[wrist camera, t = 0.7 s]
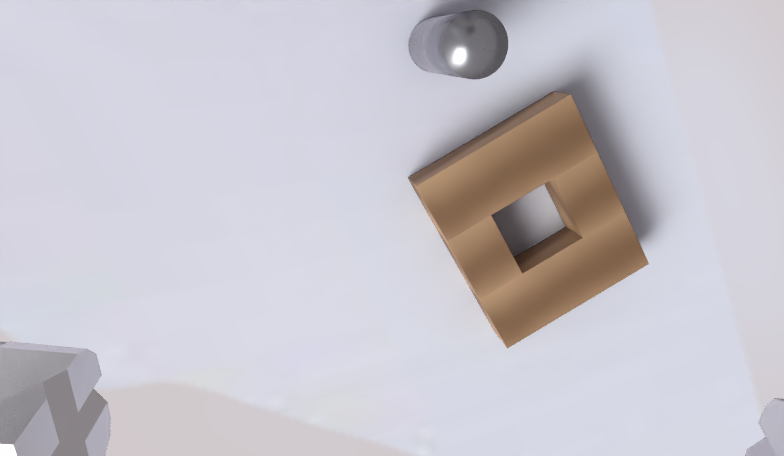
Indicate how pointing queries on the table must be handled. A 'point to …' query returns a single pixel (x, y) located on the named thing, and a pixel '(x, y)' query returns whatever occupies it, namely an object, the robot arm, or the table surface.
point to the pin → (460, 44)
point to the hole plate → (509, 183)
